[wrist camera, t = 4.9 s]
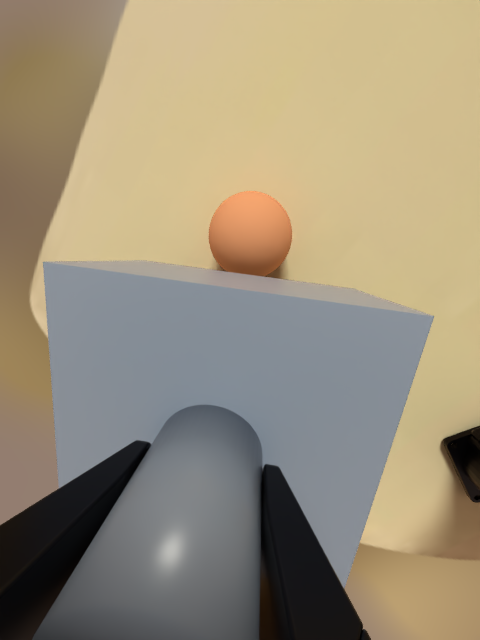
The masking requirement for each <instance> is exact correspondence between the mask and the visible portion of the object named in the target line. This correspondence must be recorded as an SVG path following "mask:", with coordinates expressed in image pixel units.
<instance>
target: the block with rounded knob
mask: <svg viewBox="0 0 480 640" xmlns="http://www.w3.org/2000/svg"><path fill="white" fill-rule="evenodd" d="M43 268H44V282H45V296H46V310H47V325H48V339H49V353H50V367H51V382H52V396H53V410H54V424H55V439H56V452H57V467H58V481H59V488H60V487H62V486H64V485H65V484H67V483H68V482H70V481H72V480H73V479H75V478H76V477H78V476H80V475H81V474H83V473H84V472H86V471H87V470H89V469H91V468H92V467H94V466H95V465H97V464H99V463H100V462H102V461H103V460H105V459H107V458H108V457H110V456H111V455H113V454H115V453H116V452H118V451H119V450H121V449H122V448H124V447H126V446H127V445H129V444H130V443H132V442H134V441H136V440H141V441H147V442H150V444H151V446H150V448H149V450H148V451H147V453H146V454H145V456H144V458H143V459H142V461H141V463H140V464H139V466H138V467H137V469H136V471H135V472H134V474H133V476H132V477H131V479H130V480H129V482H128V484H127V485H126V487H125V489H124V490H123V492H122V493H121V495H120V497H119V498H118V500H117V501H116V503H115V505H114V506H113V508H112V510H111V511H110V513H109V514H108V516H107V518H106V519H105V521H104V523H103V524H102V526H101V527H100V529H99V531H98V532H97V534H96V535H95V537H94V539H93V540H92V542H91V544H90V545H89V547H88V548H87V550H86V552H85V553H84V555H83V557H82V558H81V560H80V561H79V563H78V565H77V566H76V568H75V570H74V571H73V573H72V574H71V576H70V578H69V579H68V581H67V582H66V584H65V586H64V587H63V589H62V591H61V592H60V594H59V595H58V597H57V599H56V600H55V602H54V604H53V605H52V607H51V608H50V610H49V612H48V613H47V615H46V616H45V618H44V620H43V621H42V623H41V625H40V626H39V628H38V629H37V631H36V633H35V634H34V636H33V639H32V640H259V621H260V567H261V513H262V471H263V467H264V465H265V464H270V465H276V466H278V467H279V468H280V469H281V471H282V473H283V475H284V477H285V479H286V481H287V482H288V484H289V486H290V488H291V490H292V492H293V494H294V496H295V497H296V499H297V501H298V503H299V505H300V507H301V509H302V511H303V513H304V514H305V516H306V518H307V520H308V522H309V524H310V526H311V528H312V529H313V531H314V533H315V535H316V537H317V539H318V541H319V543H320V545H321V546H322V548H323V550H324V552H325V554H326V556H327V558H328V560H329V561H330V563H331V565H332V567H333V569H334V571H335V573H336V575H337V577H338V578H339V580H340V582H341V584H342V586H343V588H345V585H346V582H347V579H348V576H349V573H350V570H351V567H352V564H353V560H354V558H355V555H356V552H357V549H358V546H359V542H360V539H361V536H362V533H363V530H364V527H365V524H366V521H367V518H368V515H369V512H370V509H371V506H372V503H373V500H374V497H375V494H376V491H377V488H378V485H379V482H380V479H381V476H382V473H383V470H384V467H385V464H386V461H387V458H388V455H389V452H390V449H391V446H392V442H393V439H394V436H395V433H396V430H397V427H398V424H399V421H400V418H401V415H402V412H403V409H404V406H405V403H406V400H407V397H408V394H409V391H410V388H411V385H412V382H413V379H414V376H415V373H416V370H417V367H418V364H419V361H420V358H421V355H422V352H423V349H424V345H425V342H426V339H427V336H428V333H429V330H430V327H431V324H432V321H433V318H434V316H432V315H429V314H426V313H423V312H420V311H417V310H414V309H412V308H409V307H406V306H403V305H400V304H397V303H394V302H391V301H388V300H385V299H382V298H379V297H376V296H373V295H370V294H367V293H365V292H362V291H359V290H356V289H352V288H345V287H337V286H330V285H322V284H315V283H307V282H300V281H293V280H285V279H278V278H270V277H263V276H255V275H248V274H241V273H233V272H226V271H218V270H211V269H204V268H196V267H189V266H181V265H174V264H166V263H159V262H152V261H66V262H43Z"/></svg>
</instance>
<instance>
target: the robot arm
mask: <svg viewBox="0 0 480 640" xmlns="http://www.w3.org/2000/svg"><path fill="white" fill-rule="evenodd" d="M452 443H453V444H452ZM451 444H452V445H451ZM150 446H151V444H150V442H147V441H141V440H136V441H134V442H132V443H130V444H129V445H127V446H126V447H124V448H122V449H121V450H119V451H118V452H116V453H115V454H113V455H111V456H110V457H108V458H107V459H105V460H103V461H102V462H100V463H99V464H97V465H95V466H94V467H92V468H91V469H89V470H87V471H86V472H84V473H83V474H81V475H80V476H78V477H76V478H75V479H73V480H72V481H70V482H68V483H67V484H65V485H64V486H62V487H60V488H59V489H57V490H56V491H54V492H52V493H51V494H49V495H48V496H46V497H44V498H43V499H42V500H40V501H38V502H37V503H35V504H34V505H32V506H30V507H29V508H27V509H25V510H24V511H23V512H21V513H19V514H18V515H16V516H14V517H13V518H11V519H10V520H8V521H6V522H5V523H3V524H2V525H0V640H32V639H33V636H34V634H35V633H36V631H37V629H38V628H39V626H40V625H41V623H42V621H43V620H44V618H45V616H46V615H47V613H48V612H49V610H50V608H51V607H52V605H53V604H54V602H55V600H56V599H57V597H58V595H59V594H60V592H61V591H62V589H63V587H64V586H65V584H66V582H67V581H68V579H69V578H70V576H71V574H72V573H73V571H74V570H75V568H76V566H77V565H78V563H79V561H80V560H81V558H82V557H83V555H84V553H85V552H86V550H87V548H88V547H89V545H90V544H91V542H92V540H93V539H94V537H95V535H96V534H97V532H98V531H99V529H100V527H101V526H102V524H103V523H104V521H105V519H106V518H107V516H108V514H109V513H110V511H111V510H112V508H113V506H114V505H115V503H116V501H117V500H118V498H119V497H120V495H121V493H122V492H123V490H124V489H125V487H126V485H127V484H128V482H129V480H130V479H131V477H132V476H133V474H134V472H135V471H136V469H137V467H138V466H139V464H140V463H141V461H142V459H143V458H144V456H145V454H146V453H147V451H148V450H149V448H150ZM444 446H445V448H446V450H447V452H448V455H449V457H450V459H451V461H452V463H453V465H454V468H455V470H456V472H457V474H458V476H459V478H460V481H461V483H462V485H463V487H464V489H465V492H466V494H467V496H468V497H469V498H470V499H471V500H472V501H473V502H480V426H478V427H475V428H472V429H470V430H467V431H464V432H461V433H458V434H456V435H453V436H450V437H448V438H446V439H445V440H444ZM362 629H363V624H362V622H361V620H360V618H359V616H358V614H357V612H356V610H355V609H354V607H353V605H352V603H351V601H350V599H349V597H348V595H347V594H346V592H345V590H344V588H343V586H342V584H341V582H340V580H339V578H338V577H337V575H336V573H335V571H334V569H333V567H332V565H331V563H330V561H329V560H328V558H327V556H326V554H325V552H324V550H323V548H322V546H321V545H320V543H319V541H318V539H317V537H316V535H315V533H314V531H313V529H312V528H311V526H310V524H309V522H308V520H307V518H306V516H305V514H304V513H303V511H302V509H301V507H300V505H299V503H298V501H297V499H296V497H295V496H294V494H293V492H292V490H291V488H290V486H289V484H288V482H287V481H286V479H285V477H284V475H283V473H282V471H281V469H280V468H279V467H278V466H276V465H270V464H265V465H264V467H263V471H262V513H261V567H260V621H259V640H371V638H370V637H369V635H368V633H367V631H366V630H365V629H363V630H362Z"/></svg>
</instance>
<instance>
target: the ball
mask: <svg viewBox="0 0 480 640" xmlns="http://www.w3.org/2000/svg"><path fill="white" fill-rule="evenodd" d="M291 241H292V228H291V223H290V219H289V217H288V215H287V213H286V211H285V209H284V208H283V207H282V205H281V204H280V203H279V202H278V201H277V200H275V199H274V198H272V197H271V196H269V195H267V194H264V193H261V192H257V191H245V192H240V193H237V194H235V195H233V196H231V197H229V198H228V199H226V200H225V201H224V202H223V203H222V204H221V205H220V206H219V207H218V209H217V210H216V212H215V213H214V215H213V217H212V220H211V223H210V228H209V243H210V248H211V251H212V254H213V256H214V258H215V259H216V261H217V262H218V264H219V265H220V266H221V267H222V268H223V269H224V270H226V271H227V272H233V273H241V274H248V275H255V276H266V275H268V274H270V273H271V272H273V271H274V270H275V269H277V268H278V267H279V266H280V265H281V264H282V262H283V261H284V259H285V258H286V256H287V254H288V252H289V249H290V246H291Z"/></svg>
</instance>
